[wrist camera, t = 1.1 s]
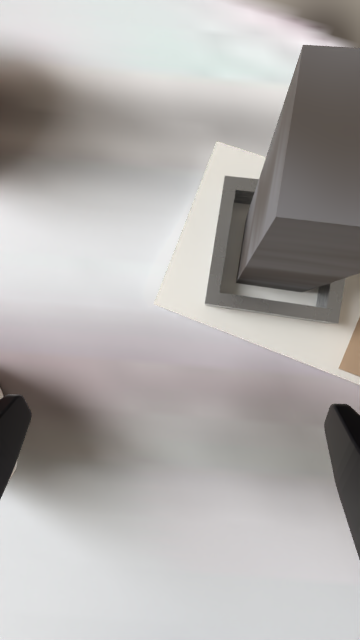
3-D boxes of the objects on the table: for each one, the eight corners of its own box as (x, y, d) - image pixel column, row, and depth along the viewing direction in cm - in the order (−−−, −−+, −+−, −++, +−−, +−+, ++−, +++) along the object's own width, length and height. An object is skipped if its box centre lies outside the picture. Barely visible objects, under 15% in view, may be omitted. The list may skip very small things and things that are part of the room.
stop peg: (302, 292, 20) (461, 239, 7) (235, 283, 21) (275, 216, 8) (312, 226, 20) (492, 55, 7) (245, 218, 21) (302, 45, 8)
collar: (325, 323, 20) (338, 323, 18) (205, 305, 21) (204, 303, 19) (345, 203, 20) (359, 189, 18) (223, 189, 21) (224, 175, 19)
